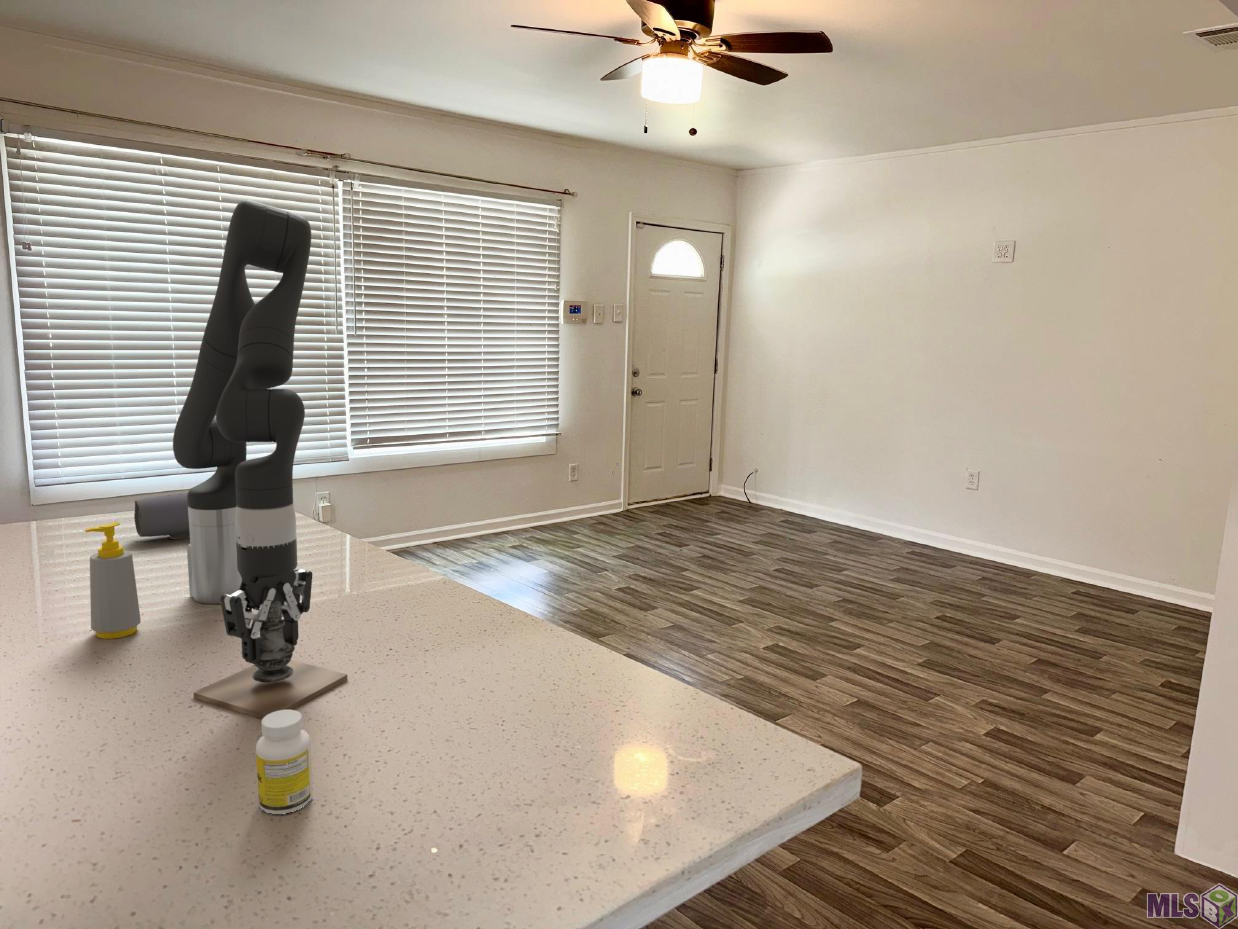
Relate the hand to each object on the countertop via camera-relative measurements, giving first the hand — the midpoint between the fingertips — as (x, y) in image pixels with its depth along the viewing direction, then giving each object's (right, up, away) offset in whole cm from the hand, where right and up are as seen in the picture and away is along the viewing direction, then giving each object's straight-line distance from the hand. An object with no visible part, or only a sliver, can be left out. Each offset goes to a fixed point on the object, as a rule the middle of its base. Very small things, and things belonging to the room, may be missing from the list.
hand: (271, 653), depth 113 cm
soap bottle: (-33, -1, +18) cm, 37 cm away
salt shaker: (0, -3, +1) cm, 3 cm away
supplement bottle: (+12, -10, -25) cm, 30 cm away
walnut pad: (0, -5, +1) cm, 5 cm away
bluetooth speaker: (-50, +10, +75) cm, 90 cm away
